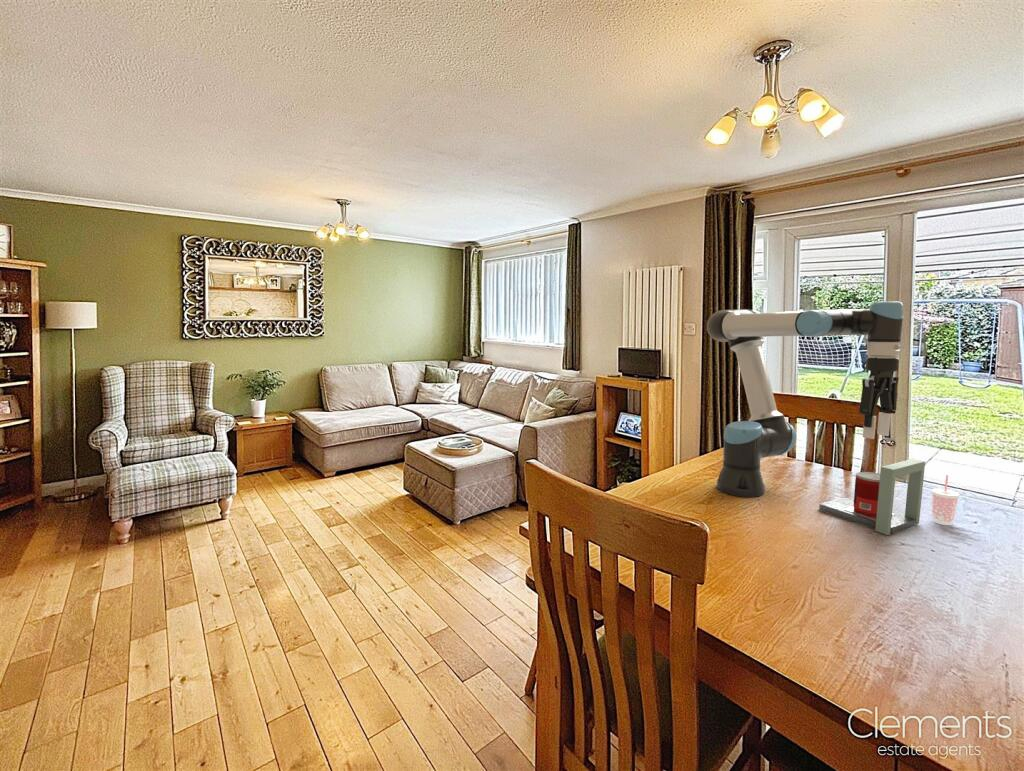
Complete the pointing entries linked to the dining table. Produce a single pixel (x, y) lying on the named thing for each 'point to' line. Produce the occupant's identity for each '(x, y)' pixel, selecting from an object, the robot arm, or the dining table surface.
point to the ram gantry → (900, 470)
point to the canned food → (866, 493)
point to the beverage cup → (944, 505)
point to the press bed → (846, 511)
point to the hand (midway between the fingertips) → (875, 436)
